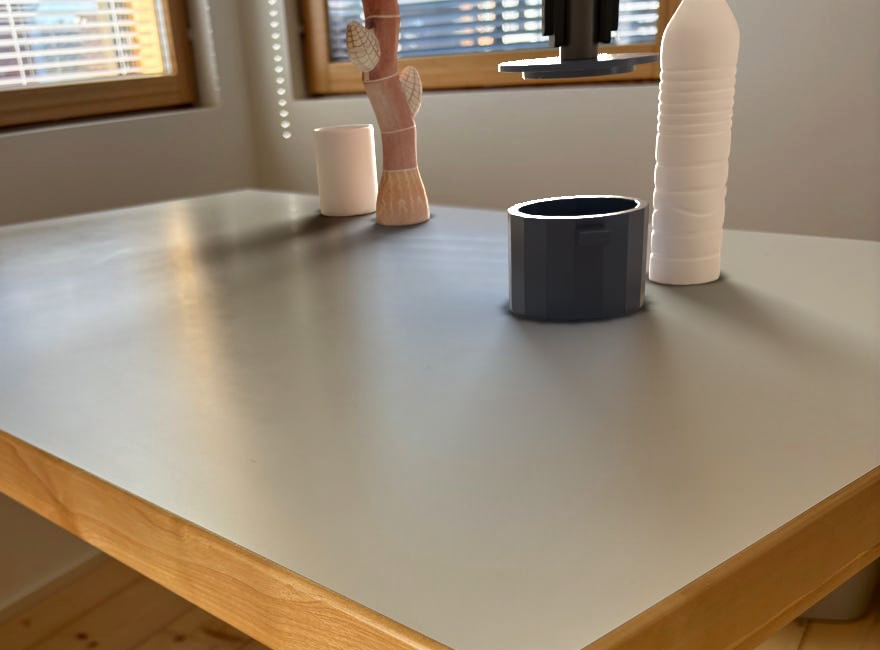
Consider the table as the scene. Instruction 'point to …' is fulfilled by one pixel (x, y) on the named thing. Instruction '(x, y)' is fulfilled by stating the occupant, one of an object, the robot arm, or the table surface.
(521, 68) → the lid
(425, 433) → the table surface
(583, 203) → the pot
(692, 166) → the water bottle
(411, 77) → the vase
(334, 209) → the mug
